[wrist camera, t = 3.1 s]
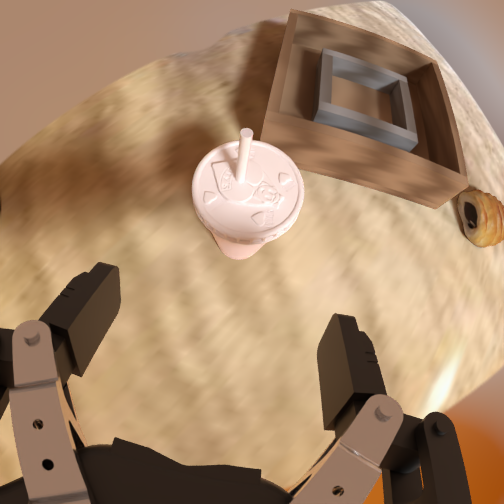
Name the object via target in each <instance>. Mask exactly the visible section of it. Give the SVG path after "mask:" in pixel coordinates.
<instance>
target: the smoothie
mask: <svg viewBox="0 0 504 504" xmlns="http://www.w3.org/2000/svg"><path fill="white" fill-rule="evenodd" d="M252 138H253V131H252V130H251V129H249V128H244V129H242V130H241V132H240V140H235V141H231V142H227V143H224V144H222V145H220V146H218V147H216V148H214V149H213V150H211V151H210V152H209V153H208V154H207V155H206V156H205V157H204V158H203V159H202V160H201V161H200V163H199V164H198V166H197V168H196V170H195V173H194V176H193V181H192V197H193V205H194V208H195V210H196V213H197V215H198V217H199V219H200V220H201V221H202V223H203V224H204V225H205V227H206V228H207V229H209V230H210V231H211V232H212V234H213V236H214V238H215V240H216V242H217V244H218V246H219V248H220V250H221V251H222V252H223V253H224V254H225V255H226V256H228V257H230V258H232V259H246V258H248V257H250V256H252V255H253V254H254V253H256V252H257V251H258V250H259V249H260V248H261V247H262V246H263V245H264V244H265V243H266V242H269V241H271V240H274V239H276V238H278V237H279V236H281V235H282V234H283V233H285V232H286V231H288V230H289V228H290V227H291V226H292V225H293V223H294V222H295V221H296V219H297V217H298V214H299V211H300V209H301V207H302V204H303V200H304V184H303V179H302V176H301V174H300V171H299V170H298V168H297V166H296V165H295V163H294V162H293V161H292V160H291V158H290V157H289V156H287V155H286V154H285V153H284V152H283V151H281V150H280V149H278V148H276V147H274V146H272V145H270V144H267V143H265V142H261V141H256V140H252Z"/></svg>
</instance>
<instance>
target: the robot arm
mask: <svg viewBox="0 0 504 504" xmlns="http://www.w3.org/2000/svg"><path fill="white" fill-rule="evenodd" d="M120 303H121V295H120V277H119V268H118V267H117V266H114V265H110V264H106V263H102V262H98V263H97V264H96V265H95V266H94V267H93V269H92V270H91V271H90V272H89V273H87V272H83V273H81V274H80V275H78V276H76V277H74V278H73V279H72V280H71V281H70V282H69V284H68V285H67V286H66V288H64V289H63V291H62V292H61V293H60V295H58V297H57V298H56V299H55V300H54V301H53V303H52V304H51V305H50V306H49V307H48V309H47V310H46V311H45V312H44V314H43V315H42V316H41V317H40V319H39V320H30V321H26V322H24V323H22V324H20V325H19V326H18V327H17V328H16V329H15V330H12V329H3V328H0V419H1V417H2V415H3V413H4V411H5V409H6V407H7V405H8V403H9V401H10V409H11V417H12V424H13V430H14V436H15V442H16V447H17V452H18V457H19V461H20V466H21V470H22V474H23V477H21V478H18V479H16V480H14V481H12V482H10V483H7V484H5V485H3V486H0V504H363V502H364V501H365V499H366V498H367V496H368V494H369V493H370V491H371V490H372V488H373V486H374V484H375V483H376V481H377V480H378V478H379V476H380V474H381V472H382V478H383V490H384V504H472V502H471V496H470V491H469V486H468V481H467V476H466V471H465V466H464V462H463V458H462V454H461V450H460V446H459V442H458V439H457V434H456V431H455V427H454V425H453V423H452V421H451V420H450V419H449V418H448V417H447V416H446V415H444V414H443V413H440V412H432V413H430V414H428V415H427V416H426V417H425V418H424V419H420V418H416V417H413V416H410V415H406V414H404V413H403V411H402V408H401V406H400V405H399V404H398V402H397V401H396V400H394V399H393V398H391V397H389V396H387V393H386V389H385V385H384V382H383V378H382V374H381V371H380V367H379V364H377V363H378V360H377V357H376V355H375V350H374V347H373V344H372V341H371V340H370V339H369V337H368V336H367V335H366V333H365V332H363V331H359V329H358V326H357V322H356V319H355V317H354V316H348V315H342V314H336V313H335V314H334V315H333V316H332V318H331V320H330V322H329V324H328V326H327V328H326V330H325V332H324V334H323V336H322V339H321V341H320V343H319V346H318V350H317V362H318V371H319V381H320V390H321V401H322V411H323V423H324V430H333V431H335V438H334V439H333V440H332V442H331V443H330V444H329V445H328V447H327V448H326V449H325V450H324V452H323V453H322V454H321V455H320V457H319V458H318V459H317V460H316V461H315V463H314V464H313V465H312V466H311V467H310V469H309V470H308V471H307V472H306V473H305V474H304V475H303V476H302V478H301V479H300V480H299V481H298V482H297V483H296V484H295V485H294V486H293V487H292V488H291V489H290V490H289V491H288V492H287V491H285V490H284V489H283V488H281V487H280V486H278V485H276V484H274V483H272V482H270V481H268V480H266V479H263V478H261V469H252V468H244V467H237V466H230V465H206V466H186V465H182V464H180V463H178V462H176V461H174V460H172V459H170V458H168V457H166V456H164V455H162V454H160V453H158V452H156V451H154V450H152V449H150V448H148V447H144V446H141V445H138V444H135V443H131V442H128V441H125V440H122V439H119V438H116V437H115V438H114V441H113V444H112V445H108V444H100V445H91V446H88V444H87V442H86V439H85V437H84V434H83V432H82V430H81V427H80V424H79V421H78V417H77V414H76V410H75V406H74V403H73V399H72V395H71V391H70V387H69V383H68V379H69V377H70V375H71V373H72V374H75V375H77V376H80V377H82V376H83V374H84V372H85V370H86V368H87V366H88V365H89V363H90V361H91V359H92V357H93V356H94V354H95V352H96V350H97V348H98V347H99V345H100V343H101V341H102V340H103V338H104V336H105V334H106V333H107V331H108V329H109V328H110V326H111V324H112V322H113V321H114V319H115V317H116V316H117V314H118V311H119V308H120ZM420 466H421V471H422V478H423V485H424V488H423V487H422V480H421V474H420ZM381 468H382V469H381Z"/></svg>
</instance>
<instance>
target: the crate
mask: <svg viewBox="0 0 504 504" xmlns="http://www.w3.org/2000/svg"><path fill="white" fill-rule="evenodd" d="M260 141H261V142H265V143H267V144H270V145H272V146H274V147H276V148H278V149H280V150H281V151H283V152H284V153H285V154H286V155H287V156H289V157H290V158H291V160H292V161H293V162H294V163H295V165H296V166H297V168H298V169H302V170H306V171H310V172H314V173H318V174H322V175H325V176H329V177H333V178H337V179H340V180H344V181H348V182H351V183H355V184H358V185H362V186H365V187H368V188H372V189H375V190H378V191H382V192H385V193H388V194H391V195H394V196H397V197H401V198H404V199H407V200H410V201H413V202H416V203H419V204H421V205H424V206H427V207H430V208H433V209H437V208H438V207H440V206H441V205H443V204H444V203H446V202H447V201H449V200H450V199H451V198H453V197H454V196H456V195H457V194H459V193H460V192H462V191H463V190H464V189H466V188H467V187H469V184H468V178H467V172H466V166H465V161H464V156H463V151H462V146H461V142H460V137H459V133H458V129H457V125H456V121H455V117H454V114H453V110H452V106H451V103H450V100H449V96H448V93H447V90H446V87H445V84H444V81H443V78H442V75H441V72H440V69H439V67H438V64H437V61H435V60H433V59H432V58H430V57H428V56H425V55H423V54H421V53H419V52H417V51H415V50H413V49H411V48H408V47H406V46H404V45H402V44H399V43H397V42H395V41H392V40H390V39H387V38H385V37H382V36H380V35H377V34H375V33H372V32H369V31H366V30H364V29H361V28H358V27H355V26H352V25H349V24H346V23H343V22H339V21H336V20H333V19H329V18H326V17H322V16H318V15H315V14H311V13H307V12H302V11H298V10H294V9H291V10H290V14H289V18H288V22H287V26H286V30H285V34H284V38H283V43H282V47H281V51H280V55H279V59H278V63H277V68H276V72H275V76H274V80H273V85H272V89H271V93H270V97H269V102H268V106H267V110H266V115H265V119H264V124H263V128H262V133H261V138H260Z"/></svg>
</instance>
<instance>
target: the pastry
mask: <svg viewBox="0 0 504 504" xmlns="http://www.w3.org/2000/svg"><path fill="white" fill-rule="evenodd" d="M457 203H458V205H457V206H458V211H459V214H460V217H461V220H462V222H463V227H464V232H465V235H466V236H467V238H468V239H469V240H470V241H471V242H472V243H473V244H474V245H476V246H478V247H487V246H494V245H496V244H498V243H500V242H501V241H502V240H504V206H503V205H502V203H501V201H498V200H497V198H496V197H495V196H492V195H491V194H490V193H484V192H483V191H481V190H473V191H470V192H464V191H462V192H461V193H460V194H459V198H458V201H457Z"/></svg>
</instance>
